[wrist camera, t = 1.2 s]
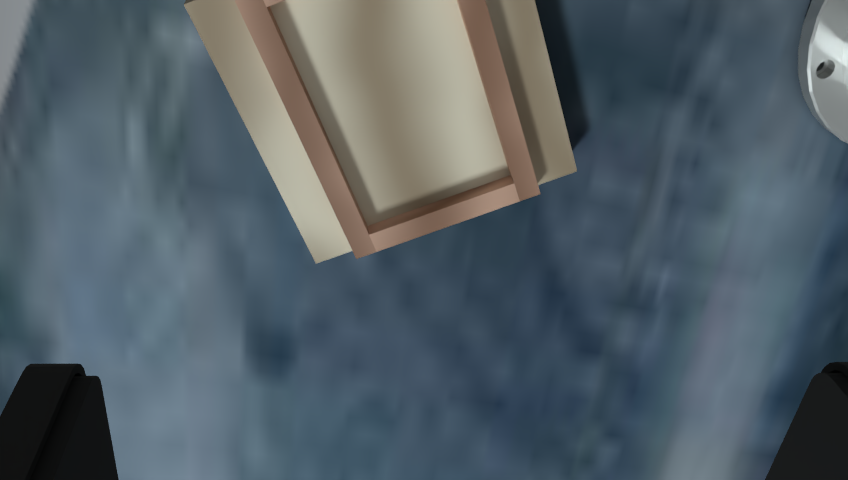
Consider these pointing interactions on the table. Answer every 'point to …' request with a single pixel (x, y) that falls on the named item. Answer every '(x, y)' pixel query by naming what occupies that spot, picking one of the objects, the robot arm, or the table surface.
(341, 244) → the display base
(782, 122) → the table surface
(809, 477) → the robot arm
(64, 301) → the table surface
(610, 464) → the table surface
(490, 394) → the table surface
